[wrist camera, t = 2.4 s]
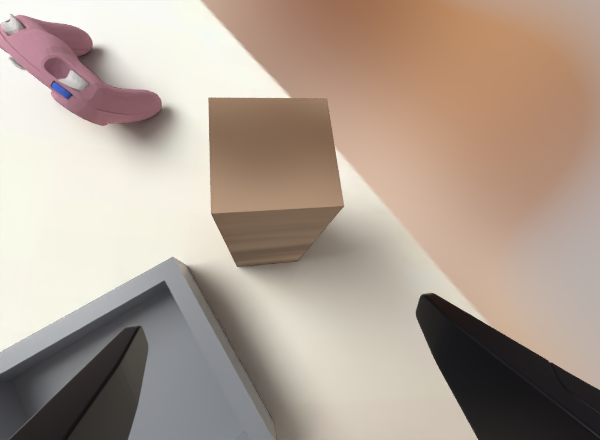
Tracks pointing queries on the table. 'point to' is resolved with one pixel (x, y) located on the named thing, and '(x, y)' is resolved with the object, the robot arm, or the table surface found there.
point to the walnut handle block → (272, 176)
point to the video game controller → (72, 71)
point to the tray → (159, 366)
